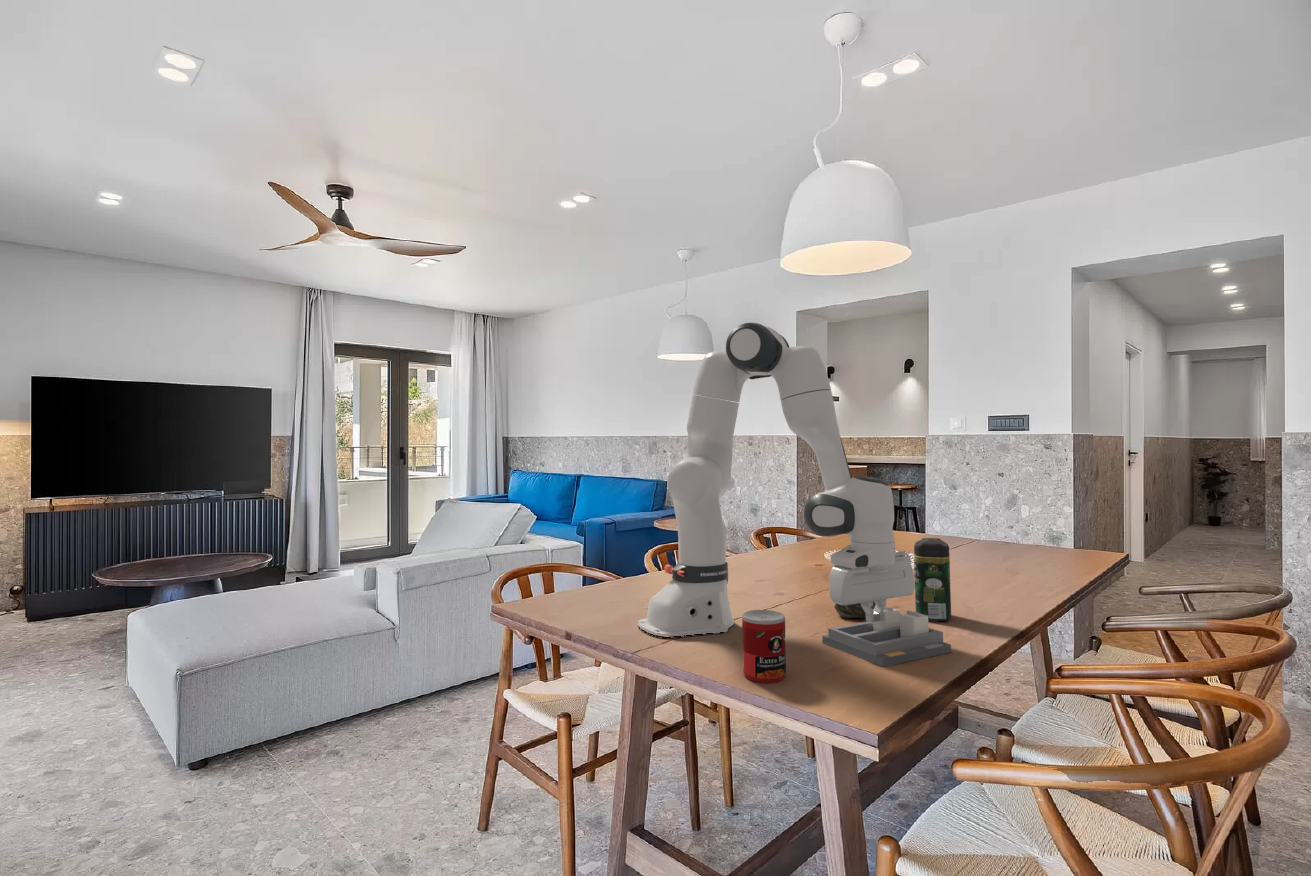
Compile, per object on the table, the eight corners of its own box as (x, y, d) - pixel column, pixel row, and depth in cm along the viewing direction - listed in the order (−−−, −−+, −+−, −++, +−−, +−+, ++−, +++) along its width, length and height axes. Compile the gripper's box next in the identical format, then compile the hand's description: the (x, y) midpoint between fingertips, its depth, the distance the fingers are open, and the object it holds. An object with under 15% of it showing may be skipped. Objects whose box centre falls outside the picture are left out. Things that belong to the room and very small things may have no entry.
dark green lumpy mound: (833, 597, 155) (878, 598, 153) (831, 562, 165) (874, 562, 163) (834, 631, 161) (878, 632, 159) (832, 595, 171) (874, 596, 168)
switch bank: (882, 666, 125) (882, 647, 125) (822, 642, 141) (822, 626, 141) (951, 652, 133) (950, 634, 133) (887, 631, 148) (886, 615, 148)
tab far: (885, 637, 139) (885, 609, 139) (873, 632, 142) (872, 606, 142) (900, 634, 140) (899, 607, 140) (887, 630, 144) (886, 603, 144)
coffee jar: (915, 611, 165) (913, 535, 165) (950, 613, 162) (948, 536, 163) (914, 621, 156) (913, 541, 156) (952, 623, 153) (950, 542, 154)
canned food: (758, 686, 116) (757, 622, 116) (734, 672, 124) (733, 612, 124) (795, 679, 119) (794, 617, 119) (770, 666, 127) (769, 607, 127)
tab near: (914, 643, 134) (913, 615, 134) (900, 638, 137) (899, 611, 137) (928, 640, 136) (928, 612, 136) (914, 636, 139) (914, 609, 139)
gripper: (898, 548, 147) (899, 611, 147) (824, 556, 138) (825, 624, 138) (921, 552, 141) (922, 618, 141) (845, 561, 132) (846, 631, 132)
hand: (874, 621), depth 139 cm, fingers closed
